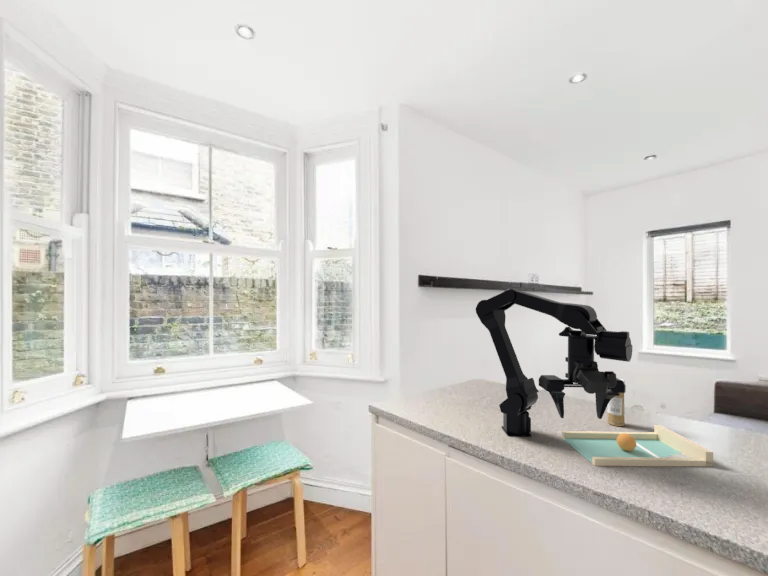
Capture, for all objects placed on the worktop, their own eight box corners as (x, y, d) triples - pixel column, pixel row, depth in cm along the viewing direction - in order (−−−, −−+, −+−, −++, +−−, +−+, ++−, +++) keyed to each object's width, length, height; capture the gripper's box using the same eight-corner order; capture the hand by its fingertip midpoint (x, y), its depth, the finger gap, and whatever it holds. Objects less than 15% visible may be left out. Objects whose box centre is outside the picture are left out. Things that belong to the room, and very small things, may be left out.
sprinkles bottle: (627, 424, 105) (627, 379, 105) (620, 428, 103) (620, 381, 103) (611, 420, 109) (610, 376, 109) (603, 423, 106) (603, 378, 106)
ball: (623, 453, 85) (623, 437, 85) (613, 446, 89) (613, 430, 89) (640, 454, 85) (640, 437, 85) (629, 446, 89) (629, 430, 89)
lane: (594, 467, 80) (594, 450, 80) (562, 438, 95) (562, 423, 95) (713, 470, 79) (713, 452, 79) (660, 439, 94) (660, 425, 95)
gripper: (557, 361, 80) (557, 430, 80) (641, 362, 79) (641, 432, 79) (537, 352, 91) (537, 413, 91) (611, 353, 90) (611, 414, 90)
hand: (580, 418), depth 88 cm, fingers open, 9 cm apart
